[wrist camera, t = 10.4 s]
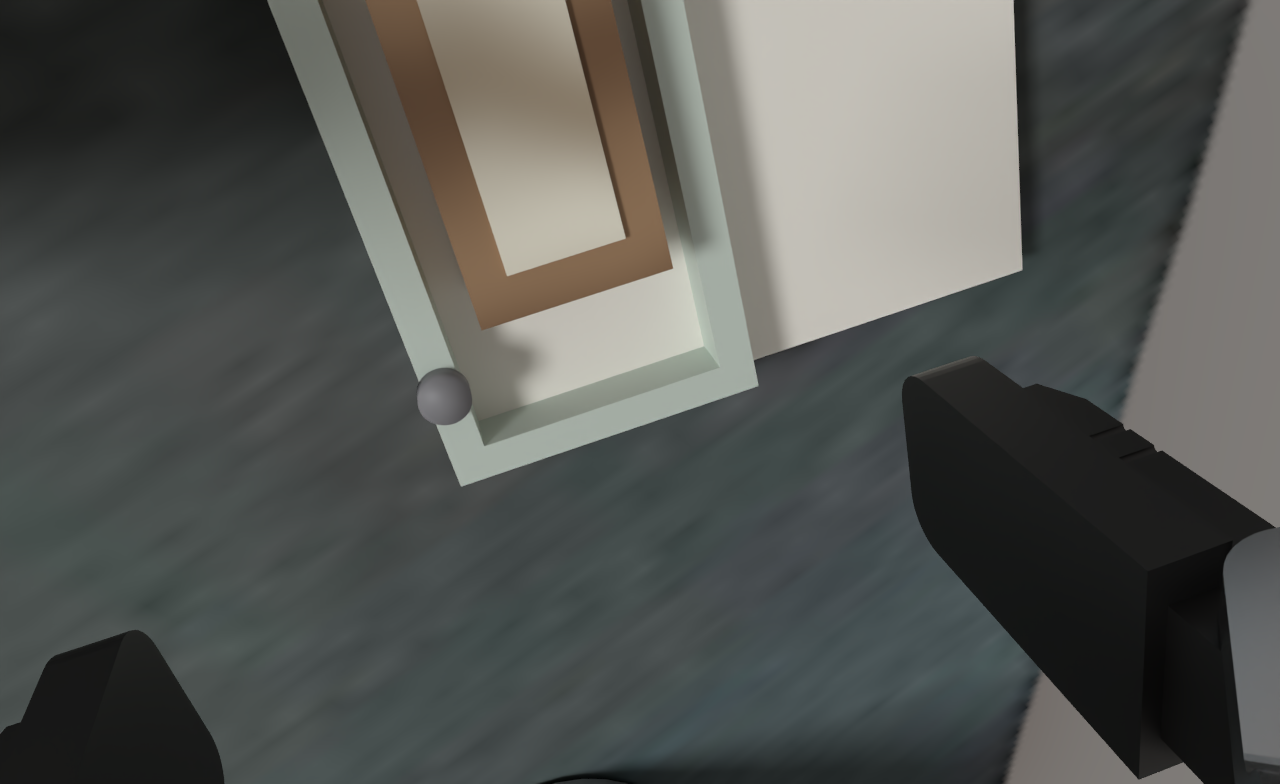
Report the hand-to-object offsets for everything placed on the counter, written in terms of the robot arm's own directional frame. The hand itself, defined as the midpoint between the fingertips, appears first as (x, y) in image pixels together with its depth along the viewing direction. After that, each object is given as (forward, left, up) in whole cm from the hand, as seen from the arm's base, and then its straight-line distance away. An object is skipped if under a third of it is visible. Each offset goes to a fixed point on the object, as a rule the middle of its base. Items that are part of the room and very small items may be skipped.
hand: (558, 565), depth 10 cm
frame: (+2, -2, -17) cm, 17 cm away
